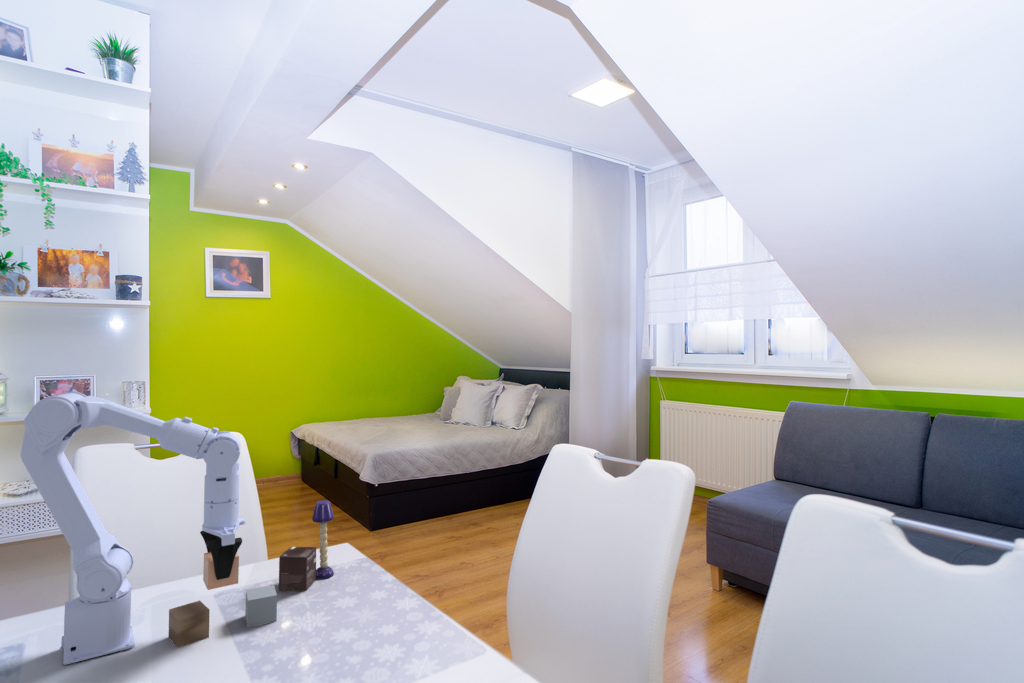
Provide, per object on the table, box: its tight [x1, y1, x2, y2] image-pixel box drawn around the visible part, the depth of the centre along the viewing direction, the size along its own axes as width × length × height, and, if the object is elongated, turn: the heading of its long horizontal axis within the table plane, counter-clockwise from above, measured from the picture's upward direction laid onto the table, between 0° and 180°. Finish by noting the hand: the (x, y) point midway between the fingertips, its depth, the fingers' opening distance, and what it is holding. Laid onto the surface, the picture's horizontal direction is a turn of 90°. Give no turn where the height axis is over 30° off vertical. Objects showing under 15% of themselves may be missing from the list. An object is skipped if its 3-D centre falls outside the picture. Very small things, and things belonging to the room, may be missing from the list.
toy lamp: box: [311, 499, 335, 580], centre depth 127 cm, size 5×5×17 cm
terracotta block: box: [202, 552, 240, 591], centre depth 104 cm, size 5×5×5 cm
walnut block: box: [168, 600, 210, 649], centre depth 100 cm, size 5×5×5 cm
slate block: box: [244, 584, 278, 628], centre depth 107 cm, size 5×5×5 cm
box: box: [278, 546, 317, 592], centre depth 122 cm, size 6×6×7 cm
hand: (220, 572), depth 104 cm, fingers closed on terracotta block, 5 cm apart
